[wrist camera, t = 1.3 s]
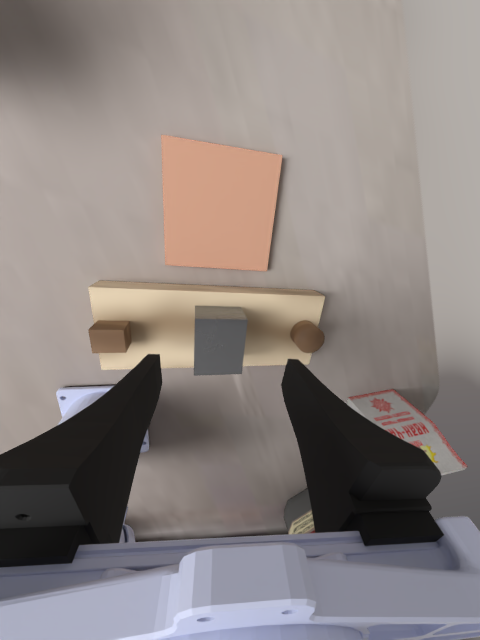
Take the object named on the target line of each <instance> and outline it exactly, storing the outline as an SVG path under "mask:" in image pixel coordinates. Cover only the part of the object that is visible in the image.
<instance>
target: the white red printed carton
mask: <svg viewBox="0 0 480 640" xmlns="http://www.w3.org/2000/svg"><path fill="white" fill-rule="evenodd" d="M347 405H348V406H350V407H351V408H352V409H354V410H355V411H356V412H358V413H359V414H361V415H362V416H364V417H365V418H367V419H368V420H370V421H371V422H373V423H374V424H376V425H378V426H379V427H381V428H382V429H384V430H386V431H388V432H389V433H391V434H393V435H395V436H396V437H398V438H400V439H402V440H404V441H406V442H408V443H410V444H412V445H414V446H416V447H418V448H420V449H422V450H424V452H425V453H426V454H427V455H428V457H429V458H430V459H431V460H432V462H433V463H434V464H435V465H436V467H437V468H438V469H439V471H440V473H441V475H445V474H449V473H453V472H456V471H460V470H464V469H466V468H465V467H467V466H466V464H465V463H464V462H463V461H462V460H461V459H460V458H459V456H458V455H457V454H456V453H455V451H454V450H453V449H452V448H451V446H450V445H449V444H448V442H447V441H446V440H445V438H444V436H443V435H442V434H441V432H440V431H439V430H438V428H437V427H436V425H435V424H434V423H433V422H432V421H431V420H430V419H428V418H427V417H426V416H425V415H424V414H422V413H421V412H420V411H419V410H418V409H416V408H415V407H414V406H413V405H412V404H410V403H409V402H408V401H407V400H406V399H404V398H403V397H402V396H401V395H400V394H398V393H397V392H396V391H395V390H394V389H391V390H386V391H381V392H375V393H370V394H365V395H360V396H354V397H349V398H348V403H347Z"/></svg>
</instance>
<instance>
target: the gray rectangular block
mask: <svg viewBox="0 0 480 640" xmlns="http://www.w3.org/2000/svg"><path fill="white" fill-rule="evenodd" d="M247 322H248V319H247V317H246V315H245V314H244V312H243V310H242V308H241V307H231V306H195V325H194V375H223V374H242V367H243V358H244V349H245V340H246V331H247Z"/></svg>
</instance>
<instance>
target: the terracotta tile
mask: <svg viewBox="0 0 480 640" xmlns="http://www.w3.org/2000/svg"><path fill="white" fill-rule="evenodd" d="M161 141H162V173H163V205H164V238H165V265H174V266H190V267H207V268H223V269H240V270H256V271H267V267H268V259H269V252H270V244H271V237H272V229H273V222H274V215H275V207H276V200H277V192H278V185H279V177H280V170H281V162H282V155H278V154H272V153H266V152H260V151H254V150H248V149H243V148H237V147H231V146H225V145H219V144H213V143H207V142H201V141H196V140H190V139H184V138H178V137H172V136H166V135H161Z"/></svg>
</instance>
